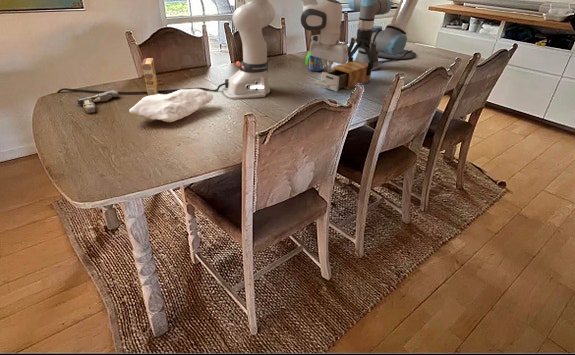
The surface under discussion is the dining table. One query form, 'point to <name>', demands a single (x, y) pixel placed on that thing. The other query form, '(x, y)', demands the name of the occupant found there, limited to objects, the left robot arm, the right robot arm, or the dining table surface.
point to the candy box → (150, 76)
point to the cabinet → (354, 73)
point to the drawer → (334, 80)
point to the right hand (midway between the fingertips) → (358, 72)
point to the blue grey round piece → (408, 55)
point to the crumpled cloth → (171, 104)
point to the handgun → (95, 100)
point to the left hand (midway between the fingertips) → (327, 69)
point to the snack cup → (314, 62)
